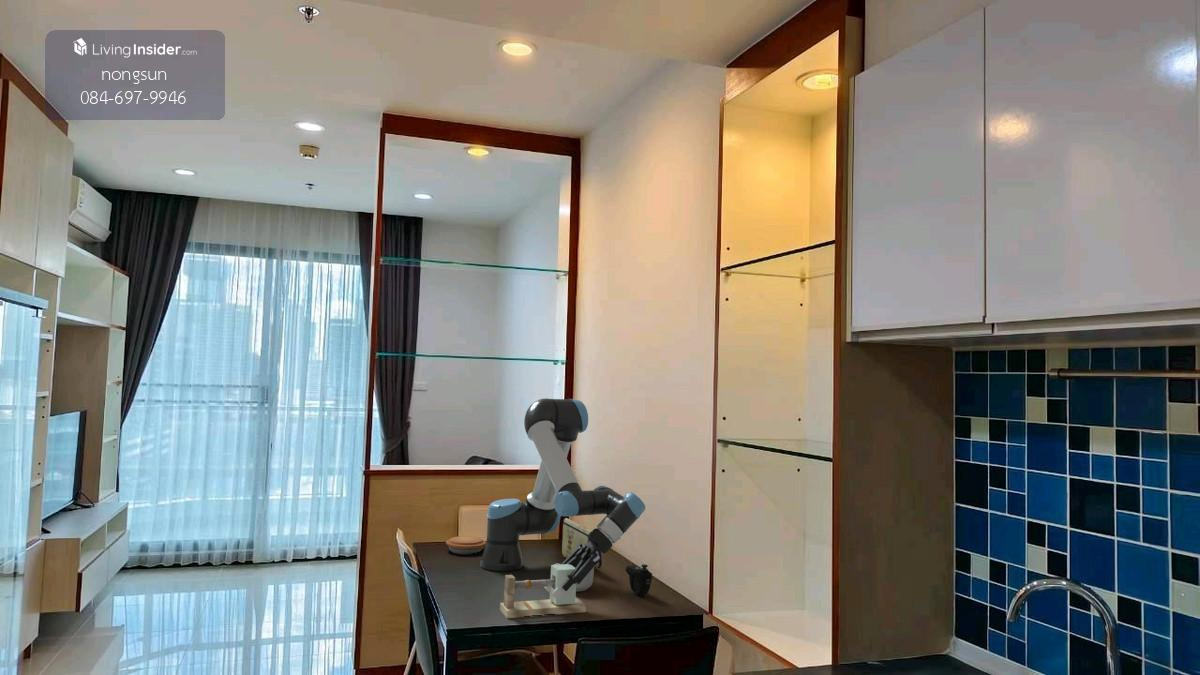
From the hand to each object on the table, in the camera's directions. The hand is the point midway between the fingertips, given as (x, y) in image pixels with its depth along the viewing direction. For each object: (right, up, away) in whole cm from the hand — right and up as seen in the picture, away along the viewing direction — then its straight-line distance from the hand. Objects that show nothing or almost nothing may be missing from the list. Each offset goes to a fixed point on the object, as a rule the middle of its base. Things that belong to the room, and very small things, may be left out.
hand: (551, 593), depth 221 cm
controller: (+27, -8, +21) cm, 35 cm away
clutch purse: (+8, -9, +57) cm, 58 cm away
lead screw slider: (-2, -5, -1) cm, 5 cm away
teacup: (+5, -7, +24) cm, 26 cm away
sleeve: (+3, -3, +1) cm, 4 cm away
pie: (-38, -8, +70) cm, 80 cm away
